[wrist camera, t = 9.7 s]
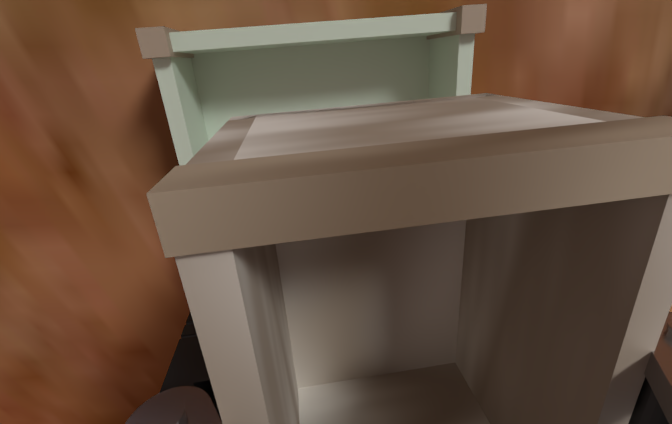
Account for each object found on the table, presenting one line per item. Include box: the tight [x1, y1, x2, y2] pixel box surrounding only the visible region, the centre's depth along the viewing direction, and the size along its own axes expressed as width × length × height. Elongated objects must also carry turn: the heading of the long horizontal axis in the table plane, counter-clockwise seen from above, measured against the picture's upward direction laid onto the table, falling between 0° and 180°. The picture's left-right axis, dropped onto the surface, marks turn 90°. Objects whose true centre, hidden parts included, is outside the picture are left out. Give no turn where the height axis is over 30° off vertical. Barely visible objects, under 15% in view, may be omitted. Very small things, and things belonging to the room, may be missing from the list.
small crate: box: [147, 93, 672, 424], centre depth 8 cm, size 6×9×6 cm
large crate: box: [135, 4, 487, 166], centre depth 22 cm, size 16×15×5 cm
